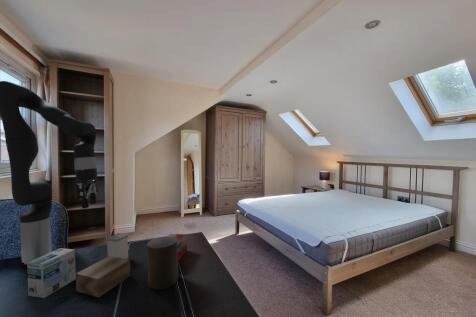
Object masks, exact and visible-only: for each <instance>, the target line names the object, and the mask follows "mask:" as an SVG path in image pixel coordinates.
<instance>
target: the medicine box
mask: <svg viewBox="0 0 476 317" xmlns="http://www.w3.org/2000/svg"><path fill="white" fill-rule="evenodd" d="M166 237H174V238H176V239H177V260H178V262H179V261H180V260H181V259H182V257H183V256H185V254H186V253H187V252H188V234H187V233H169V234H168V235H167V236H166ZM186 251H187V252H186Z"/></svg>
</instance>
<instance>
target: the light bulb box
mask: <svg viewBox="0 0 476 317" xmlns="http://www.w3.org/2000/svg"><path fill="white" fill-rule="evenodd" d="M26 269H27V288H28V289H27V292H28V297H34V298H40V299H41V298H42V299H45V298H46V297H48V296H51V295H52V294H53V293H55V292H57V291H58V290H60V289H61V288H63V287H66V286H67V285H69V284H70V283H72V282H73V281H76V273H77V272H76V250H75V249H70V248H62V247H59V248H58V249H56V250H52V252H51V253H48V254H46V255H44V256H41V257H39V258H37V259H34V260H32V261H30V262H27V264H26Z"/></svg>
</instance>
